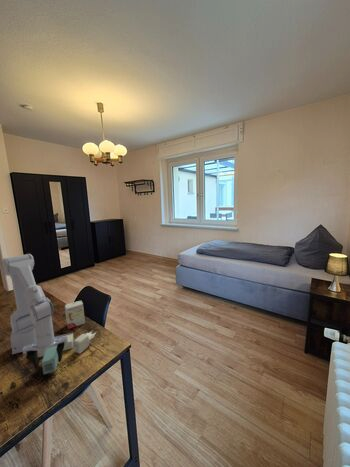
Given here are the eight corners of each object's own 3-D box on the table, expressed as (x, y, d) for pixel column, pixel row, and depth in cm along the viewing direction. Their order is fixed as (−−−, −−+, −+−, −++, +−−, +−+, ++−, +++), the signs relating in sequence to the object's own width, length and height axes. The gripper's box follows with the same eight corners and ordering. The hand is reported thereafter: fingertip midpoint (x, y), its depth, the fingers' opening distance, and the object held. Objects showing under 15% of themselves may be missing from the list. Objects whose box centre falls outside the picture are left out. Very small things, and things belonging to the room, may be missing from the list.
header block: (35, 358, 84) (34, 350, 83) (39, 347, 90) (38, 340, 89) (72, 348, 89) (71, 340, 89) (73, 339, 95) (72, 332, 95)
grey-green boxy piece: (43, 375, 75) (41, 363, 75) (48, 359, 83) (46, 348, 82) (55, 372, 77) (53, 359, 76) (58, 356, 85) (57, 345, 84)
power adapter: (91, 336, 97) (90, 325, 96) (99, 338, 95) (98, 327, 94) (72, 352, 87) (71, 340, 86) (81, 355, 85) (79, 343, 84)
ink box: (67, 329, 103) (65, 308, 101) (66, 324, 107) (64, 304, 105) (85, 323, 107) (83, 303, 106) (83, 319, 111) (81, 300, 110)
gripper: (17, 344, 68) (23, 378, 71) (64, 333, 74) (68, 365, 76) (24, 332, 75) (29, 363, 77) (66, 323, 80) (70, 352, 82)
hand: (48, 363), depth 77 cm, fingers open, 7 cm apart
